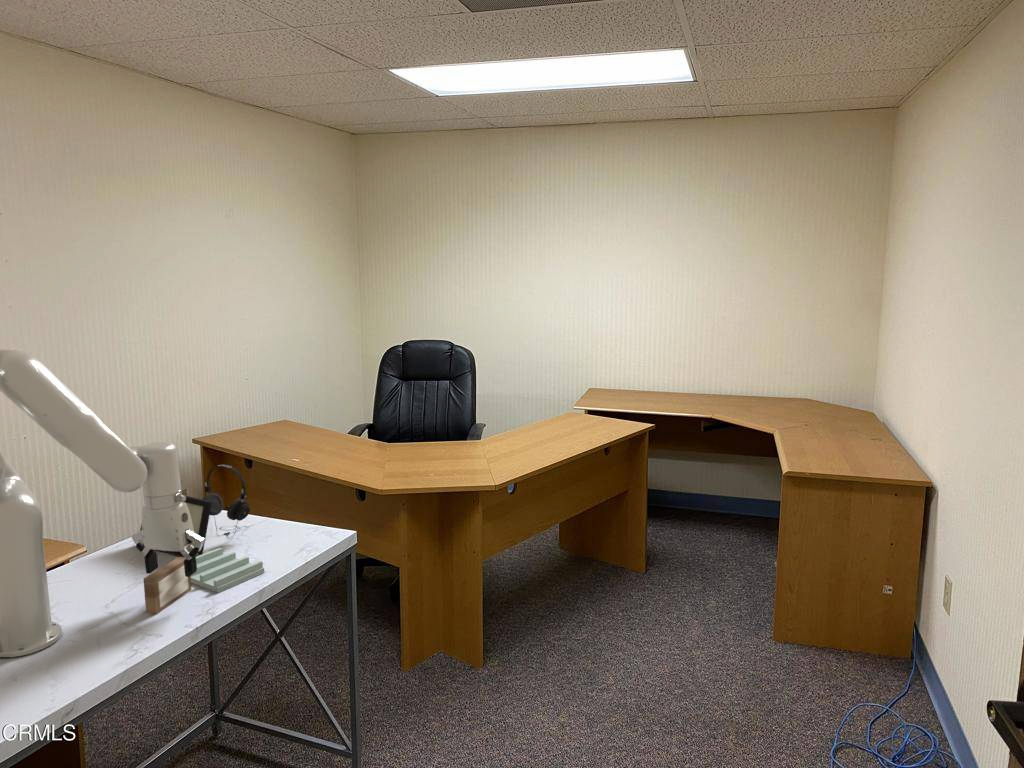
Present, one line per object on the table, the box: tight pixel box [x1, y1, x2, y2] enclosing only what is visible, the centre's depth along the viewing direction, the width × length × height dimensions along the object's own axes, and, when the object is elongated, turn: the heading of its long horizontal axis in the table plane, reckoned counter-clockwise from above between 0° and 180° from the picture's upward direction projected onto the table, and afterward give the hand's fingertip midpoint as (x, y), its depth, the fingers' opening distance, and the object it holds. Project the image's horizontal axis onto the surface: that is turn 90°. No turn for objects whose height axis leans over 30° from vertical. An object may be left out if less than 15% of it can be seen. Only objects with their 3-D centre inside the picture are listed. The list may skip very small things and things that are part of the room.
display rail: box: [190, 547, 265, 594], centre depth 178 cm, size 13×17×3 cm
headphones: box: [202, 464, 251, 538], centre depth 202 cm, size 15×11×20 cm
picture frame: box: [139, 494, 212, 557], centre depth 193 cm, size 23×9×15 cm, turn 62°
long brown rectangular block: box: [142, 556, 192, 615], centre depth 163 cm, size 12×3×8 cm, turn 168°
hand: (171, 572), depth 163 cm, fingers open, 9 cm apart
